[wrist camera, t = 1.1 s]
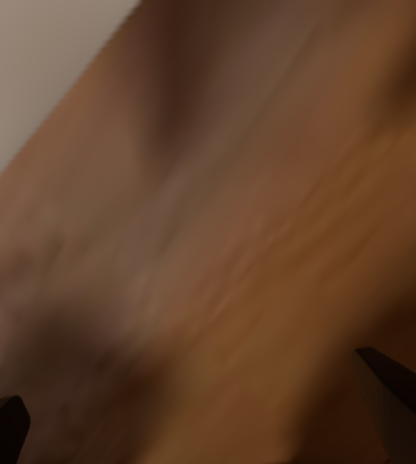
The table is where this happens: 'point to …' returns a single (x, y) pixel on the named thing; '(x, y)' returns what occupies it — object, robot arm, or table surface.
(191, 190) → the table surface
